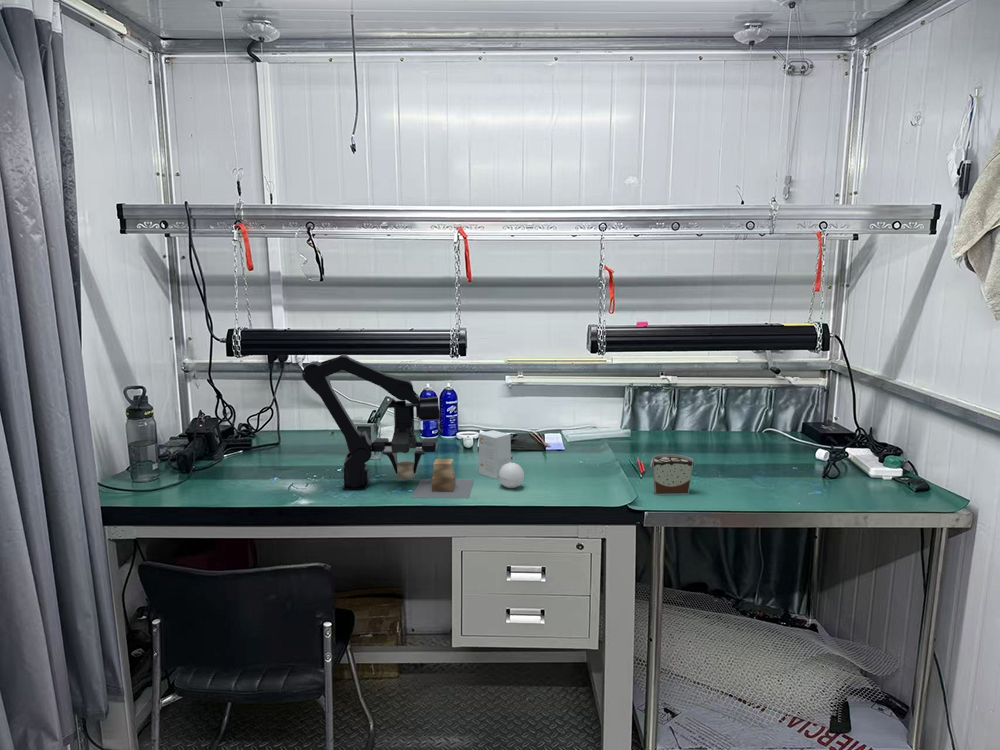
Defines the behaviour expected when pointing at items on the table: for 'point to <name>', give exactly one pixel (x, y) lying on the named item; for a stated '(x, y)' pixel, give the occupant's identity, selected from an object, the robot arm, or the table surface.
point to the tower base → (443, 484)
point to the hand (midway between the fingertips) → (405, 473)
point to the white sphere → (511, 475)
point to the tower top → (443, 468)
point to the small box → (493, 452)
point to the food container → (672, 474)
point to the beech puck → (405, 470)
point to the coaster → (460, 491)
